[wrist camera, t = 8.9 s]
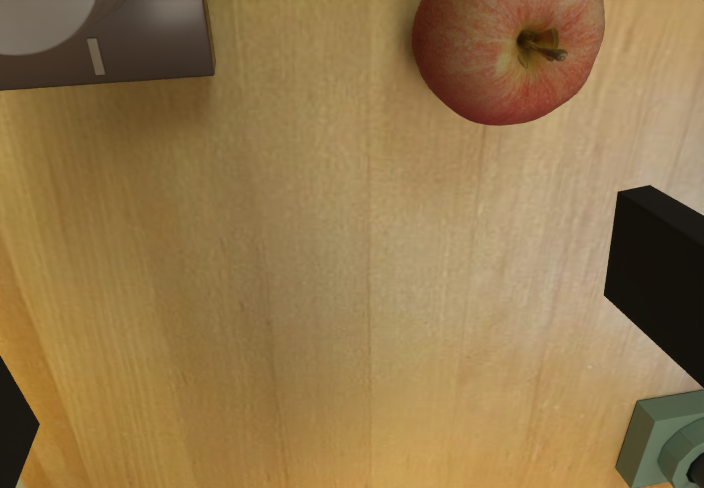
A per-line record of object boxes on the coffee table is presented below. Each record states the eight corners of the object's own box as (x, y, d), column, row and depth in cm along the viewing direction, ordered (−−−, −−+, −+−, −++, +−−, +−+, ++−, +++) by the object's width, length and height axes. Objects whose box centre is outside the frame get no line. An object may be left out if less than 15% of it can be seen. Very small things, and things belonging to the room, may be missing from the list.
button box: (615, 468, 48) (644, 508, 45) (637, 401, 44) (671, 439, 41) (714, 449, 50) (750, 486, 46) (743, 383, 46) (785, 418, 43)
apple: (577, 16, 28) (690, 39, 21) (466, 132, 30) (537, 188, 23) (483, -113, 25) (583, -135, 18) (363, 28, 26) (411, 59, 20)
